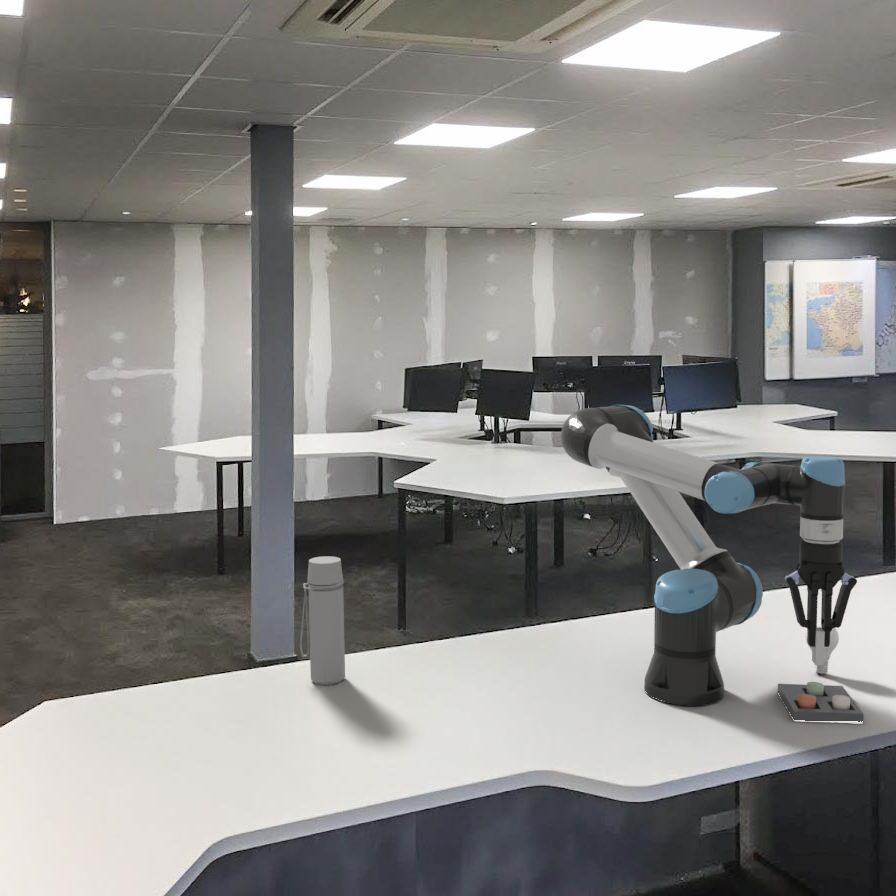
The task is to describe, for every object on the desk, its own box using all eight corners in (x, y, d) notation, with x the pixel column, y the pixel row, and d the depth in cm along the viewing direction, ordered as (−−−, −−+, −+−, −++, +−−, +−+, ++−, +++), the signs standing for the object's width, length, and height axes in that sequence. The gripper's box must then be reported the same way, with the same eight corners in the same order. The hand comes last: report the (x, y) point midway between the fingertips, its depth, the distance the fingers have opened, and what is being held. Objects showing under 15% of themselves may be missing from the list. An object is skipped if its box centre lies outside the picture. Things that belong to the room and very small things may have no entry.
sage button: (808, 697, 187) (809, 687, 186) (804, 692, 190) (805, 681, 189) (825, 698, 186) (825, 687, 186) (821, 692, 189) (821, 682, 189)
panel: (794, 721, 179) (794, 711, 179) (777, 693, 193) (777, 683, 192) (863, 724, 178) (863, 713, 177) (841, 695, 191) (842, 685, 191)
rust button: (800, 710, 181) (800, 699, 180) (796, 704, 184) (796, 693, 183) (817, 711, 180) (817, 700, 180) (813, 704, 183) (813, 693, 183)
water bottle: (349, 673, 206) (346, 555, 203) (341, 687, 198) (338, 564, 195) (306, 672, 207) (302, 555, 204) (296, 686, 199) (293, 564, 196)
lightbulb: (841, 679, 200) (844, 626, 199) (810, 679, 200) (812, 626, 199) (830, 668, 206) (832, 617, 205) (799, 668, 206) (801, 617, 205)
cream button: (834, 711, 180) (834, 700, 180) (830, 705, 183) (830, 694, 183) (851, 712, 180) (852, 701, 179) (847, 706, 182) (847, 695, 182)
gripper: (789, 543, 181) (786, 668, 184) (863, 544, 180) (859, 670, 182) (780, 535, 189) (777, 655, 191) (851, 536, 187) (848, 657, 190)
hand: (817, 662), depth 187 cm, fingers closed
